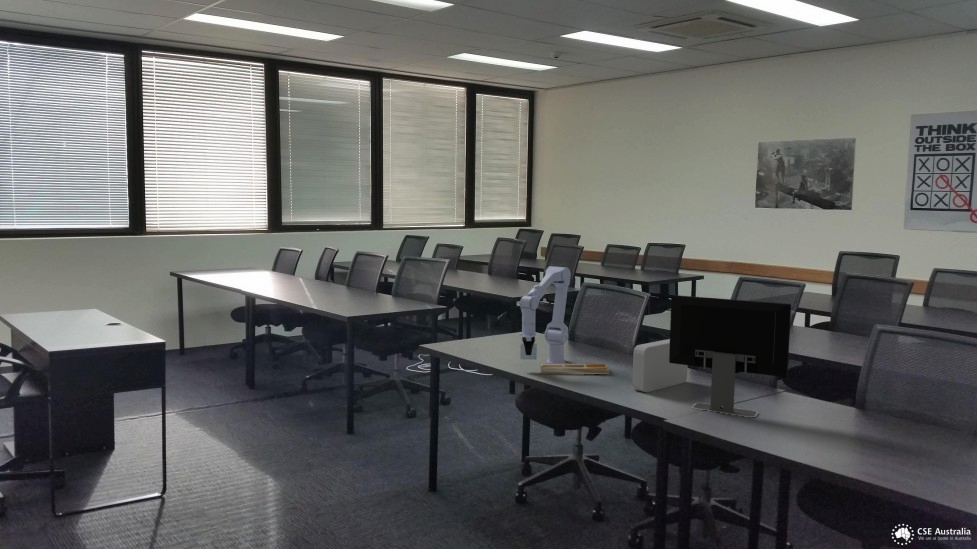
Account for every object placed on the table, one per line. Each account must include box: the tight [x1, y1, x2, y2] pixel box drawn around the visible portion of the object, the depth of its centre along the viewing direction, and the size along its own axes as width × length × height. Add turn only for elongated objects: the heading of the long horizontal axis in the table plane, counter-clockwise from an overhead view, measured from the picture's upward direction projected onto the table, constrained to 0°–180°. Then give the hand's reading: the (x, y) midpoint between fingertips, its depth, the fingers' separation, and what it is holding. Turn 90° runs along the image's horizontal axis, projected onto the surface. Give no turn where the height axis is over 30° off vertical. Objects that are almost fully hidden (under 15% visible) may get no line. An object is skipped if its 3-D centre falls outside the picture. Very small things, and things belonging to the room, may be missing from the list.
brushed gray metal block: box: [519, 342, 538, 361], centre depth 318 cm, size 2×7×6 cm, turn 87°
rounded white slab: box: [632, 338, 689, 393], centre depth 295 cm, size 29×8×18 cm, turn 129°
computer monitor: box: [669, 294, 792, 418], centre depth 260 cm, size 41×8×40 cm, turn 59°
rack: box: [539, 362, 610, 375], centre depth 318 cm, size 9×29×3 cm, turn 88°
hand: (528, 354), depth 318 cm, fingers closed on brushed gray metal block, 2 cm apart
